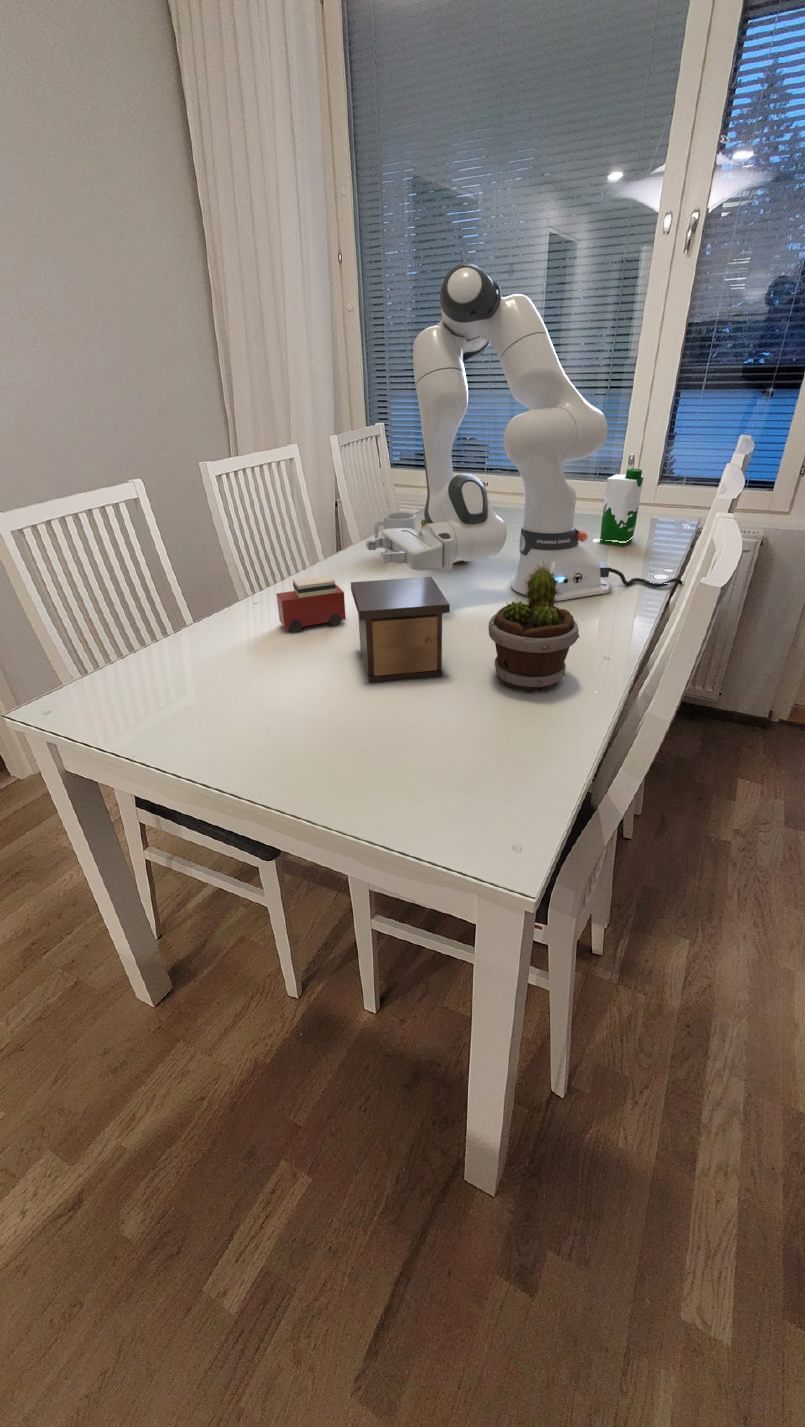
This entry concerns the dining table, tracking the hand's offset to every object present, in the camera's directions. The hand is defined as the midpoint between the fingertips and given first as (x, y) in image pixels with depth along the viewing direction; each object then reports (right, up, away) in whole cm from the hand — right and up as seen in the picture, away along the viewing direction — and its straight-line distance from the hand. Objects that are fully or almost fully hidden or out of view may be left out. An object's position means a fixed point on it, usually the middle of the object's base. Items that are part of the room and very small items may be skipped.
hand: (374, 551), depth 133 cm
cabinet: (+5, -24, -15) cm, 29 cm away
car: (-13, -15, +2) cm, 20 cm away
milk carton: (+68, +16, +53) cm, 88 cm away
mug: (+4, +10, +45) cm, 46 cm away
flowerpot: (+28, -28, -22) cm, 45 cm away
